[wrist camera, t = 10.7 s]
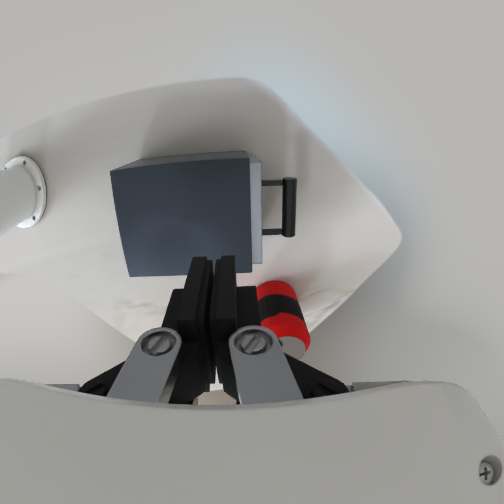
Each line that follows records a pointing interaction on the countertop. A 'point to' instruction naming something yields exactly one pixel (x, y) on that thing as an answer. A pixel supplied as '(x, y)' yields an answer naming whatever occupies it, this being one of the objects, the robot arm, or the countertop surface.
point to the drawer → (256, 208)
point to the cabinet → (184, 211)
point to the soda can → (283, 317)
